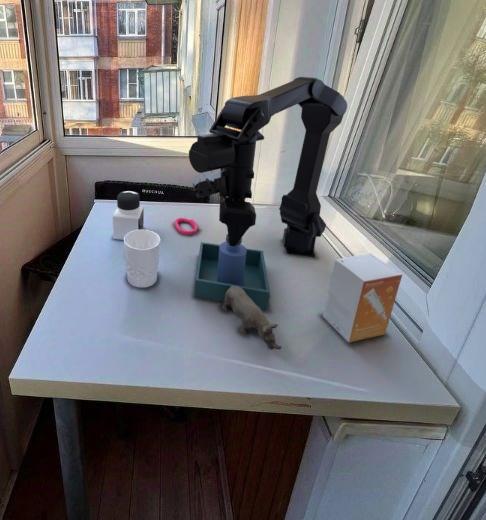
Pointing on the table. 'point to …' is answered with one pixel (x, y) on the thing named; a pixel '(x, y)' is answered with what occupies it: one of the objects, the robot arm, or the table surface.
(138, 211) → the medicine bottle
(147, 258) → the white cup
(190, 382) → the table surface
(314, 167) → the robot arm
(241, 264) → the bottle
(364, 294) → the small box
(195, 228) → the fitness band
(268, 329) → the rhino figurine
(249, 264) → the tray
